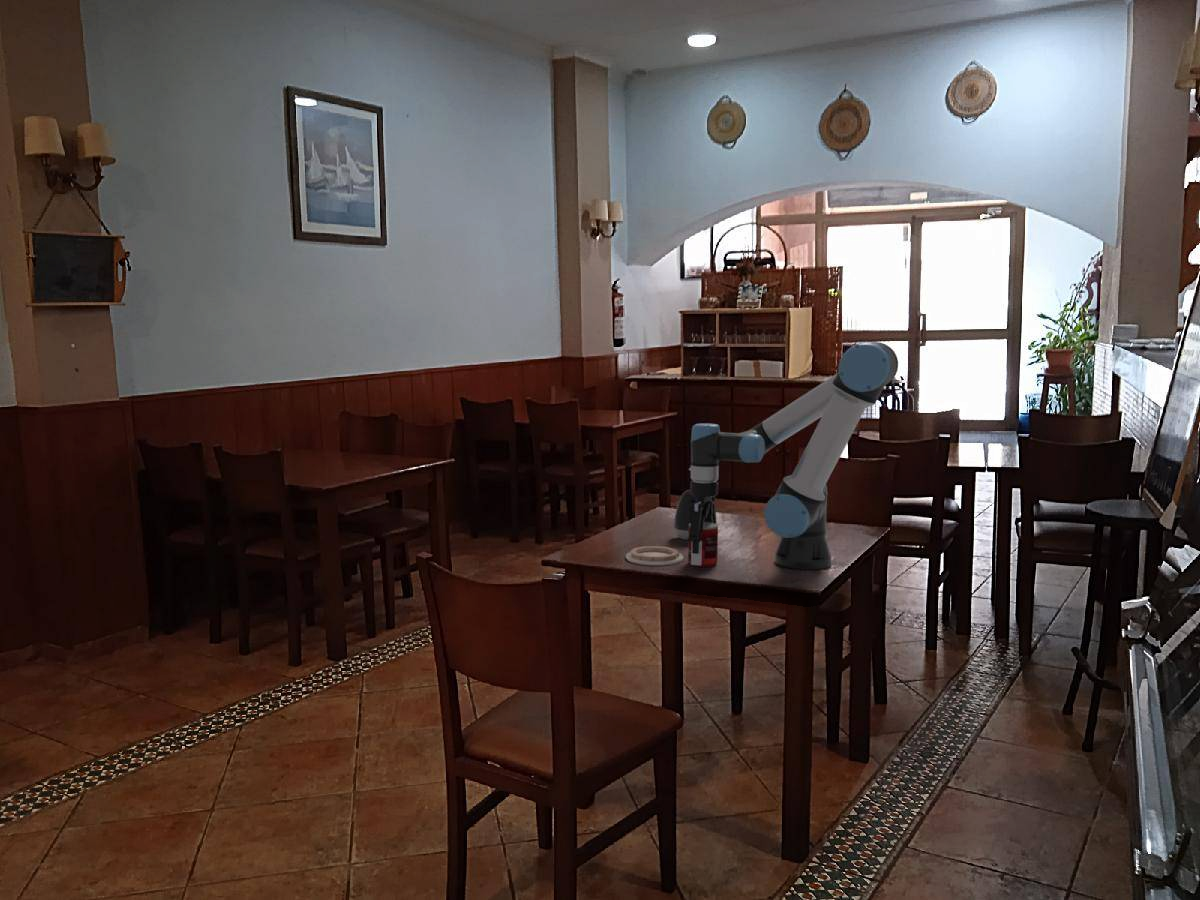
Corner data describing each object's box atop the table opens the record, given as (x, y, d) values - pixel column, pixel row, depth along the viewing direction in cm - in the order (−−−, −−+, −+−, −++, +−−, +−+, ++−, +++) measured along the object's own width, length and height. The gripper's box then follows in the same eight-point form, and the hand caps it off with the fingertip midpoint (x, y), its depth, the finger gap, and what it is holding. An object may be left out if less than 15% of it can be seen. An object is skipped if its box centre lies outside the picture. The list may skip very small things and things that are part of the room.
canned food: (689, 559, 266) (689, 521, 265) (717, 561, 265) (718, 522, 264) (686, 566, 259) (687, 526, 257) (716, 567, 257) (717, 527, 256)
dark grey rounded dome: (706, 535, 298) (707, 487, 296) (707, 542, 288) (708, 492, 286) (673, 534, 299) (674, 486, 297) (673, 541, 289) (673, 492, 287)
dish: (690, 555, 272) (690, 548, 271) (672, 568, 257) (672, 560, 257) (638, 549, 278) (638, 543, 278) (617, 562, 263) (617, 554, 263)
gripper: (703, 473, 271) (702, 549, 274) (677, 486, 250) (675, 568, 253) (729, 475, 268) (727, 552, 271) (704, 488, 247) (703, 571, 250)
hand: (702, 560), depth 262 cm, fingers open, 11 cm apart
